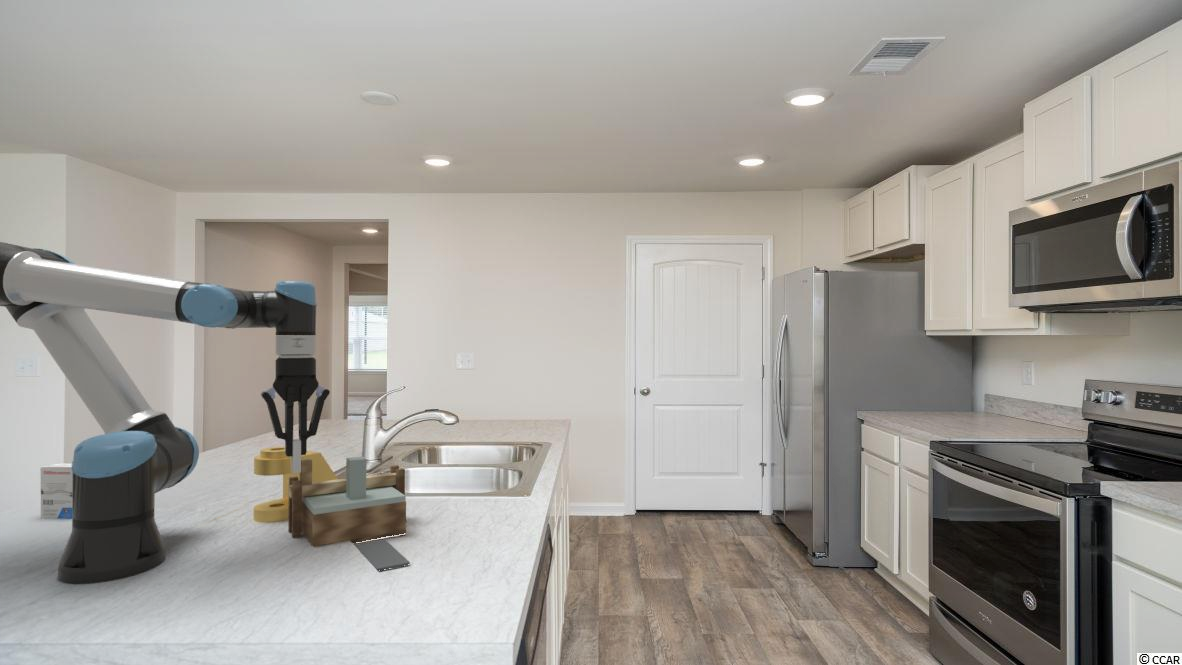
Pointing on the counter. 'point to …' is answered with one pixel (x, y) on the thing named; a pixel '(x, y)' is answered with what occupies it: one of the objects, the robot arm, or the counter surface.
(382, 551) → the mat
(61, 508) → the ink box
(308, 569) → the counter surface
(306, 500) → the lid
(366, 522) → the wooden rack
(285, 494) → the yellow clevis bracket
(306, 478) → the key
